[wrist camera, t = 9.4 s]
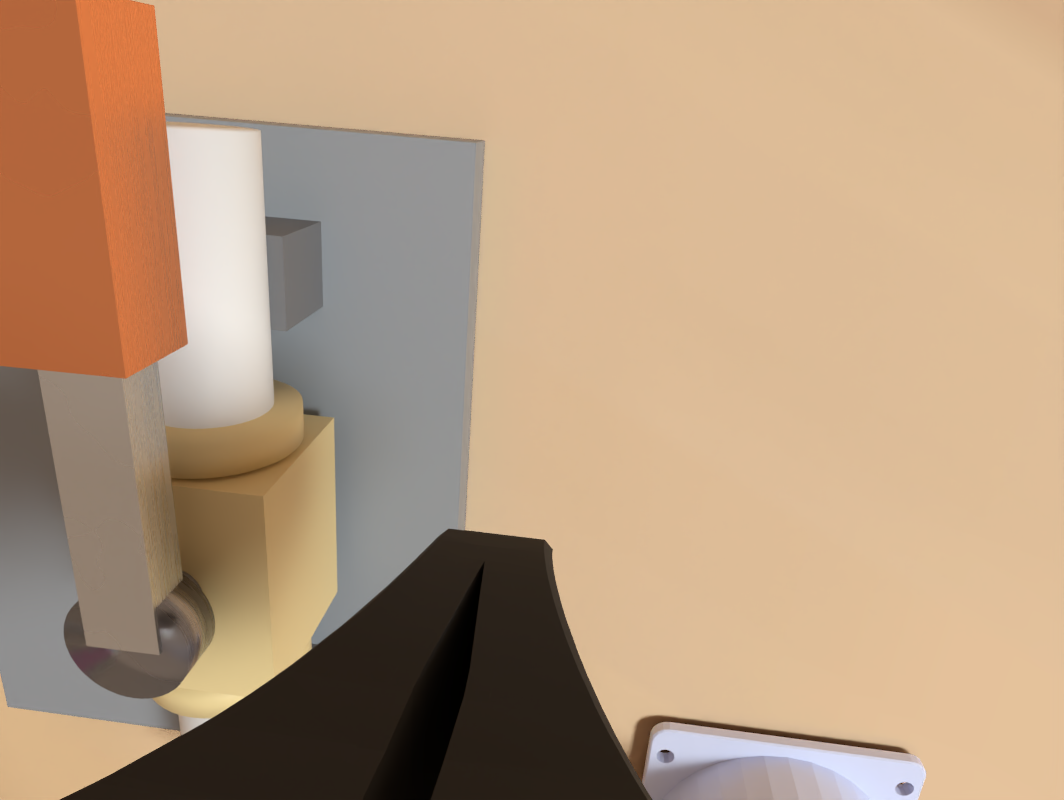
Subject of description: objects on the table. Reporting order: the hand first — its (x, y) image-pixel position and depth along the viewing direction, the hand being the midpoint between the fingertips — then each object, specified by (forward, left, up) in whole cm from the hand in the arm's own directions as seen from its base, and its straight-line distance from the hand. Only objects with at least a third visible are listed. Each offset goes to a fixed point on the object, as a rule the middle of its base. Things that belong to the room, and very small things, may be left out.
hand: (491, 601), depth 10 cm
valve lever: (+1, +7, -4) cm, 8 cm away
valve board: (-4, +9, -10) cm, 14 cm away
